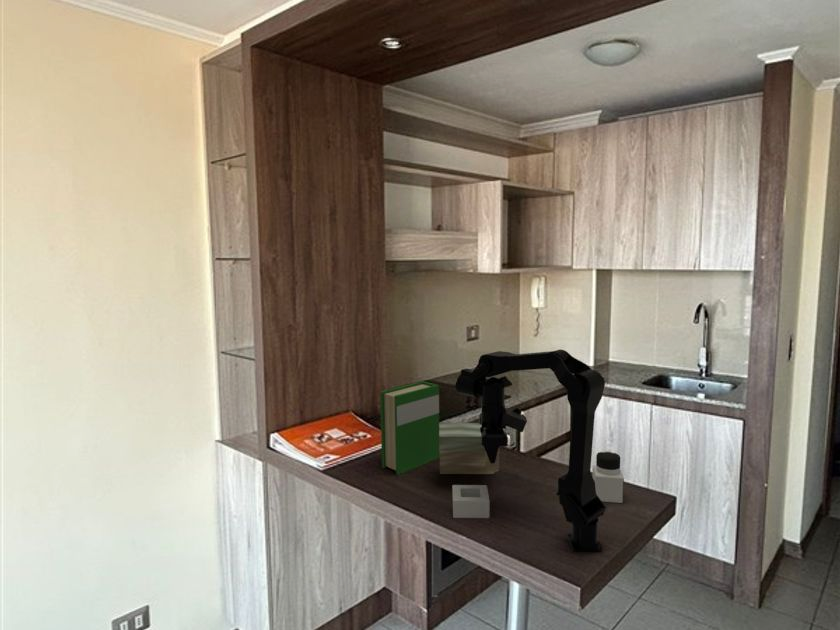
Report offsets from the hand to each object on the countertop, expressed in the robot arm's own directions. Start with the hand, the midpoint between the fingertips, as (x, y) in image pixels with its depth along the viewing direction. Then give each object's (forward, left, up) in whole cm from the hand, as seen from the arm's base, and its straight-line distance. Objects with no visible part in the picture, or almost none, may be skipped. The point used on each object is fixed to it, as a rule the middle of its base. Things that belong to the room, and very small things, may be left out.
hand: (492, 460), depth 142 cm
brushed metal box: (+16, +6, -13) cm, 21 cm away
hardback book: (+28, +23, -13) cm, 38 cm away
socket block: (-2, +6, -13) cm, 14 cm away
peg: (0, 0, -3) cm, 2 cm away
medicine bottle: (+6, -31, -13) cm, 34 cm away
